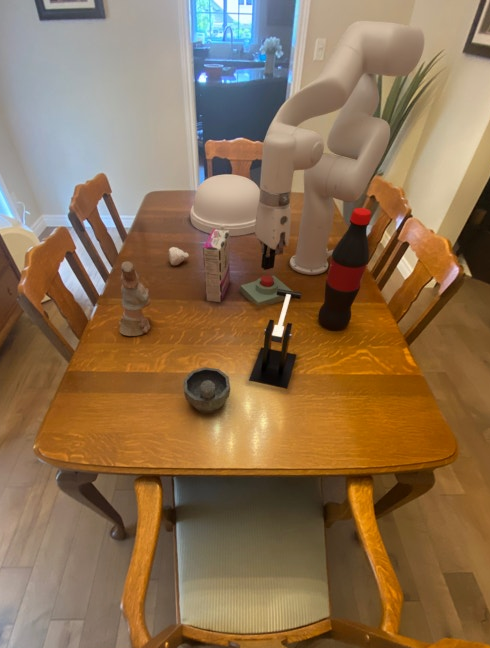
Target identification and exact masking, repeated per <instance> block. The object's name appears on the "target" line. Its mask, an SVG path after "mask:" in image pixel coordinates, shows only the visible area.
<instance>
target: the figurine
mask: <svg viewBox="0 0 490 648" xmlns="http://www.w3.org/2000/svg"><path fill="white" fill-rule="evenodd" d="M120 267H121V268H120V269H121V275H120V276H119V278H120V282H121V284H122V285H121V286H120V287H121V288H120V294H121V300H120V301H121V306H122V309H124V310H123V312H122V315H121V316H120V321H119V322H118V326H119V332H120V334H121V335H123V336H126V337H136V336H141V335H144V334H146V333H148V332H149V330H150V329H151V325H150V322H149V319H148V318H147V317H146V316H144V314H143V312H142V311H143V309H144V308H147V307H149V306H150V305H151V303H152V300H151V298H150V295H149V294H150V290H149V288H147V287H146V286H145V285H144V284H143V283H141V282H140V281H139V280H140V276H139V274H138V273H137V271H136V269H135V266H134V264H133V263H132V262H131V261H128V260H126V261H123V262H122V263H121V266H120Z"/></svg>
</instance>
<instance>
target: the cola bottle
mask: <svg viewBox="0 0 490 648" xmlns="http://www.w3.org/2000/svg"><path fill="white" fill-rule="evenodd" d="M371 218H372V211H371V210H370V209H367V208H364V207H357V208H354V209H353V211H352V213H351V216H350V219H349V223H350V224H349V226H348V228H347V230H346V232H345V233H344V234H343V235H342V237H341V238H340V239H339V241H338V242H337V244H336V245H335V247H334V248H333V249H332V250H333V253H332V256H331V260H330V264H329V267H328V268H329V270H328V272H327V273H328V274H327V277H326V280H325V287H324V301H323V303H322V305H321V306H320V309H319V310H318V315H317V316H318V318H317V319H318V324H319V325H320V327H322V328H323V329H325V330H327V331H331V332H341V331H342V330H345V329H346V328H347V327H348V325H349V323H350V322H351V318H352V305H353V303H354V302H355V300H356V298H357V296H358V294H359V292H360V290H361V285H362V280H363V278H364V274H365V271H366V268H367V265H368V263H369V260H370V248H369V246H370V245H369V241H368V240H369V239H368V234H367V231H368V230H367V229H368V226H369V225H370V222H371Z"/></svg>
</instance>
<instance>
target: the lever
mask: <svg viewBox="0 0 490 648" xmlns="http://www.w3.org/2000/svg"><path fill="white" fill-rule="evenodd" d="M302 294H303V293H302V292H298V291H293V290H292V291H288V290H282V289H278V290H277V295H278V296H284V297H285V300H284V301H283V304H282V309H281V312H280V315H279V318H278V322H277V324H274V326H273V332H272V342H274V343H280V344H282V343H283V337H284V333H285V329H286V326H284V324H285V321H286V317H287V313H288V309H289V306H290V302H291V299H296V300H301V298H302Z"/></svg>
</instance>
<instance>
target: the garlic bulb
mask: <svg viewBox="0 0 490 648" xmlns="http://www.w3.org/2000/svg"><path fill="white" fill-rule="evenodd" d="M189 256H190V255H189V253H188V252H185V251H183V249H180V248H179V247H175V246H172V247H170V248H168V257H169V262H170V264H171V265H172V266H173V267H175V266H179V265H180V264H181V263H182V262H183V261H184V260H186V259H188V258H189Z"/></svg>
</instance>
